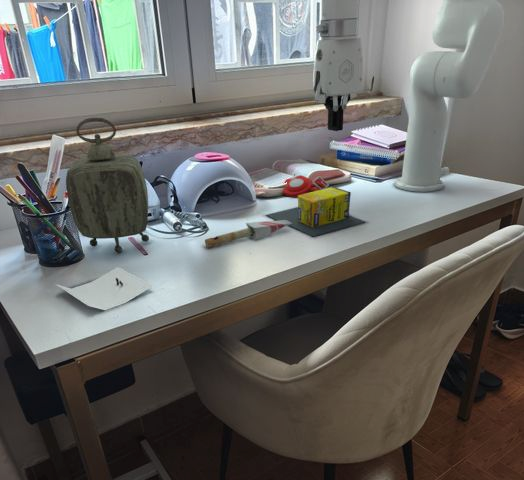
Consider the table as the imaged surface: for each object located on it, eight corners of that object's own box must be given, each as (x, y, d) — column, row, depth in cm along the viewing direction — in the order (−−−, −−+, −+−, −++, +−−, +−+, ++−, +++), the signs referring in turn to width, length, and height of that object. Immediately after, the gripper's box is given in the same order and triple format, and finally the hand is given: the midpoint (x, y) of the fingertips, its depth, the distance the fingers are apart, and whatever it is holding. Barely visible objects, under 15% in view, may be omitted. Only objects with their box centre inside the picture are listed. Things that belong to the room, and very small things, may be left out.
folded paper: (154, 291, 86) (152, 281, 85) (90, 316, 79) (88, 305, 78) (118, 272, 94) (116, 262, 93) (57, 293, 87) (54, 283, 86)
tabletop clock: (154, 238, 108) (135, 112, 94) (154, 254, 100) (133, 119, 87) (86, 244, 106) (56, 116, 92) (80, 261, 99) (47, 124, 85)
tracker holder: (284, 194, 129) (276, 176, 135) (287, 209, 132) (280, 190, 139) (329, 180, 128) (319, 162, 135) (331, 195, 132) (321, 177, 138)
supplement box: (349, 217, 115) (313, 228, 110) (332, 211, 119) (296, 221, 114) (351, 191, 112) (314, 201, 107) (333, 186, 116) (296, 195, 111)
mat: (315, 203, 125) (315, 202, 125) (365, 222, 113) (365, 221, 113) (266, 215, 119) (266, 214, 118) (313, 237, 106) (313, 236, 106)
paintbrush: (293, 217, 107) (209, 240, 100) (294, 229, 109) (211, 252, 102) (284, 212, 110) (201, 234, 103) (284, 224, 112) (203, 246, 104)
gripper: (321, 32, 93) (319, 137, 103) (379, 28, 99) (372, 127, 110) (297, 33, 98) (297, 132, 108) (354, 28, 105) (349, 123, 115)
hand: (335, 129), depth 109 cm, fingers closed
